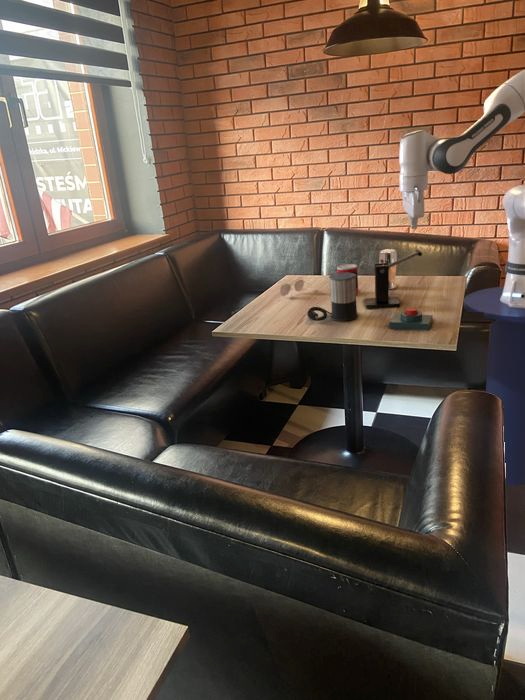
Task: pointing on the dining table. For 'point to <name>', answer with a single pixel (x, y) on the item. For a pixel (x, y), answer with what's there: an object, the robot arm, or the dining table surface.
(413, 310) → the button
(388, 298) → the bracket
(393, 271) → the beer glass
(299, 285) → the sunglasses
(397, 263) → the lever
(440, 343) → the dining table surface
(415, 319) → the button box
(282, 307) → the dining table surface
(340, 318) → the milk frother
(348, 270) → the canned food
